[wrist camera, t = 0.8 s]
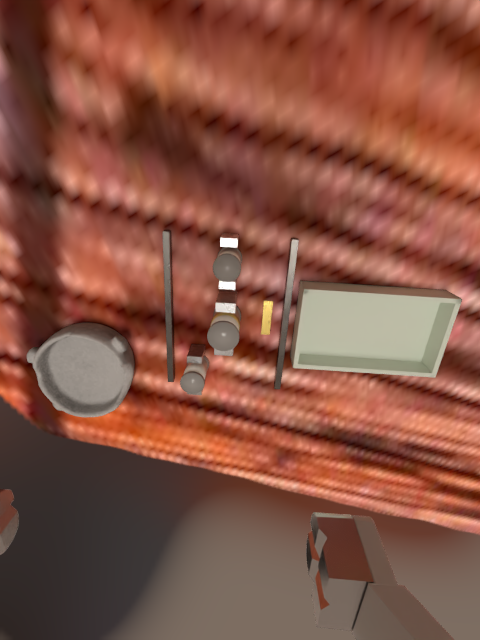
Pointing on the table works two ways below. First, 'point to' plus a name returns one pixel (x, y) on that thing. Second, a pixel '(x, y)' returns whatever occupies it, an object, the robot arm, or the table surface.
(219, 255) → the fuse cartridge near arm
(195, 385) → the fuse cartridge near camera
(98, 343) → the dish
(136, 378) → the table surface
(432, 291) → the tray
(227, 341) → the cylinder
